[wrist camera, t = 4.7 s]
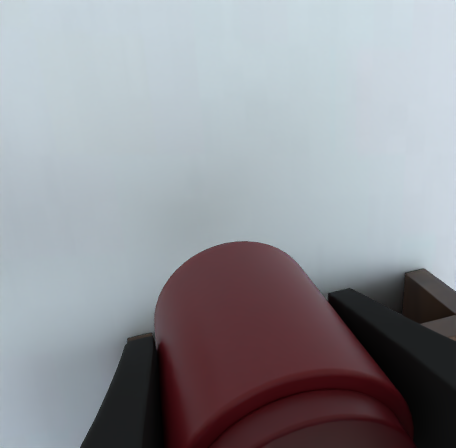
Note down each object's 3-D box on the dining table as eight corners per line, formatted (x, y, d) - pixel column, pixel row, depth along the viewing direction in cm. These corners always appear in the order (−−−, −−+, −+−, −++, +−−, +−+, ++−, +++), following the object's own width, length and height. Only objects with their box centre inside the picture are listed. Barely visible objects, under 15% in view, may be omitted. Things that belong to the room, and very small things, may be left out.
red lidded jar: (170, 391, 12) (196, 627, 7) (137, 260, 10) (143, 455, 5) (312, 354, 13) (427, 545, 8) (306, 224, 11) (452, 368, 6)
